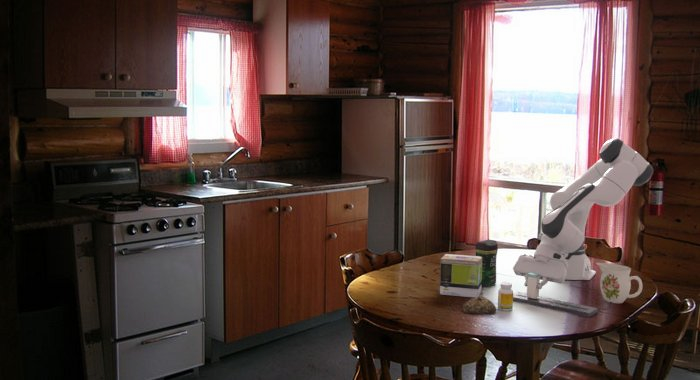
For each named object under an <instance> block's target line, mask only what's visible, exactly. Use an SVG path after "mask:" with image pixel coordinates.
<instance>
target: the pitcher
mask: <svg viewBox="0 0 700 380" xmlns="http://www.w3.org/2000/svg"><path fill="white" fill-rule="evenodd" d="M595 264H596V265H597V266H598V267H599V269H600V270H601V277H600V279H599V280H600V283H599V285H600V292H601V294H602V295H601V296H602V297H603V299H604V300H605V302H607V303H610V302H612V303H611V304H623V303H624V302H625V301H626V299H634V298H637V297H638V296H639V295H640V294H641V293H642V291H643V286H644V285H643V282H642V279H641V278H640V277H639V276H638V275H633V276H632V275H631V276H630V274H631V271H632V268H631V267H629V266H626V265H621V264H615V263H605V262H604V263H603V262H595ZM632 280H636V281H637V283H638V290H637V291H636V292H635V293H633V294H630V291H631V286H632Z"/></svg>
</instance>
